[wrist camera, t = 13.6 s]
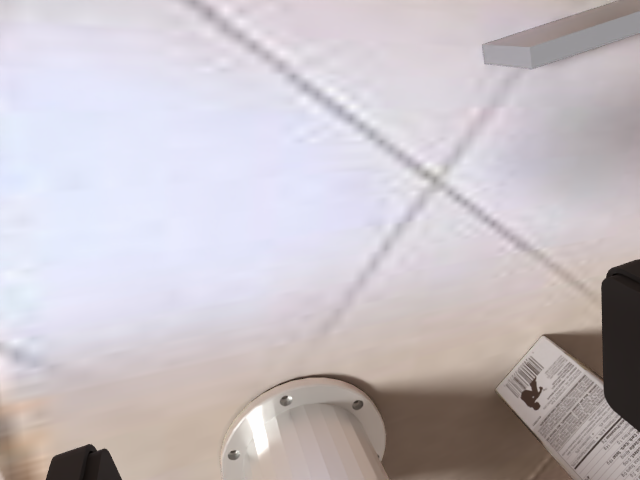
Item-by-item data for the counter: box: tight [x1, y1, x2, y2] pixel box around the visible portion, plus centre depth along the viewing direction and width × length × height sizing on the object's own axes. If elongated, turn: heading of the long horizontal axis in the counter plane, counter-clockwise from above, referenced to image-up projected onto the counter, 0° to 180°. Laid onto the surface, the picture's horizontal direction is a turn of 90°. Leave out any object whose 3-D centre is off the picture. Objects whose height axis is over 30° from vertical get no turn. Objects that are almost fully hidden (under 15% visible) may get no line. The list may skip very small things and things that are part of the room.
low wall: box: [482, 0, 640, 69], centre depth 34 cm, size 1×16×5 cm, turn 105°
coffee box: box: [495, 336, 640, 480], centre depth 39 cm, size 9×6×16 cm
